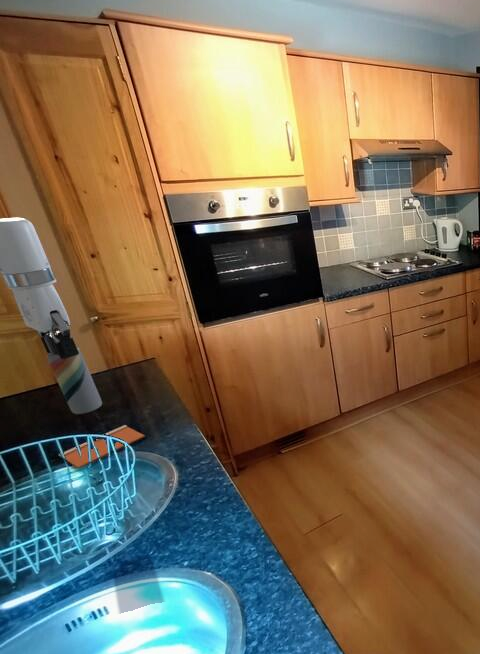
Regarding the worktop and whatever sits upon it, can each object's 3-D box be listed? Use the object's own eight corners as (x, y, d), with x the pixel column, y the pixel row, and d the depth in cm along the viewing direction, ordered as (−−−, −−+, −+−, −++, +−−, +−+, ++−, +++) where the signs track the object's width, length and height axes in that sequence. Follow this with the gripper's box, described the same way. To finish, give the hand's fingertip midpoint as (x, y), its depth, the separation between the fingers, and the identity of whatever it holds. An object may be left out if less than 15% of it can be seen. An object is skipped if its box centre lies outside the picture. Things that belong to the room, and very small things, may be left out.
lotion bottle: (78, 404, 111) (45, 329, 103) (106, 400, 113) (76, 326, 105) (67, 416, 106) (31, 339, 98) (96, 411, 108) (63, 335, 100)
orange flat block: (78, 468, 106) (77, 466, 106) (58, 455, 110) (57, 453, 110) (145, 436, 117) (144, 434, 117) (124, 426, 122) (124, 424, 121)
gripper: (-11, 277, 97) (25, 352, 104) (24, 288, 90) (60, 368, 97) (35, 269, 103) (66, 340, 110) (71, 278, 96) (101, 355, 103)
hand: (63, 353), depth 104 cm, fingers closed on lotion bottle, 5 cm apart
